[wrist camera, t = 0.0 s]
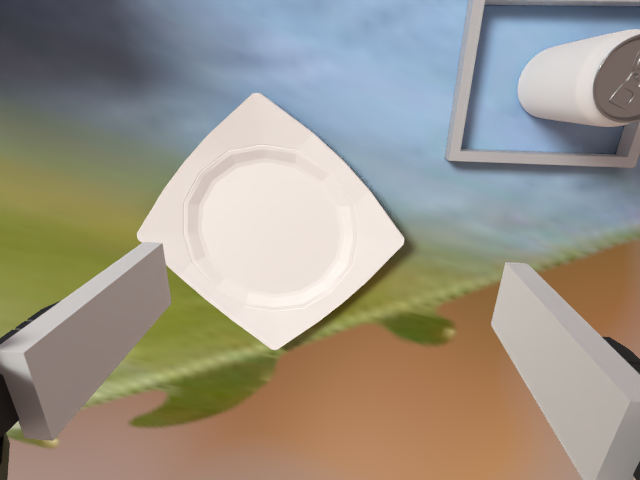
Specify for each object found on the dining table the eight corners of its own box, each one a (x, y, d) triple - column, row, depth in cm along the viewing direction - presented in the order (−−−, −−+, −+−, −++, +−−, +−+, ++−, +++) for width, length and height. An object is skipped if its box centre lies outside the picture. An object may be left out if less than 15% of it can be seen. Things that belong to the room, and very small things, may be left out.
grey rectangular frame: (469, -9, 34) (475, -14, 32) (679, -7, 32) (696, -13, 31) (444, 157, 39) (448, 160, 38) (622, 164, 38) (634, 168, 36)
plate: (417, 233, 43) (421, 241, 41) (279, 348, 51) (275, 361, 48) (261, 73, 38) (254, 71, 36) (134, 228, 46) (121, 236, 43)
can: (601, 64, 35) (717, 51, 24) (557, 129, 37) (644, 144, 26) (542, 33, 34) (632, 5, 23) (501, 101, 37) (566, 105, 26)
